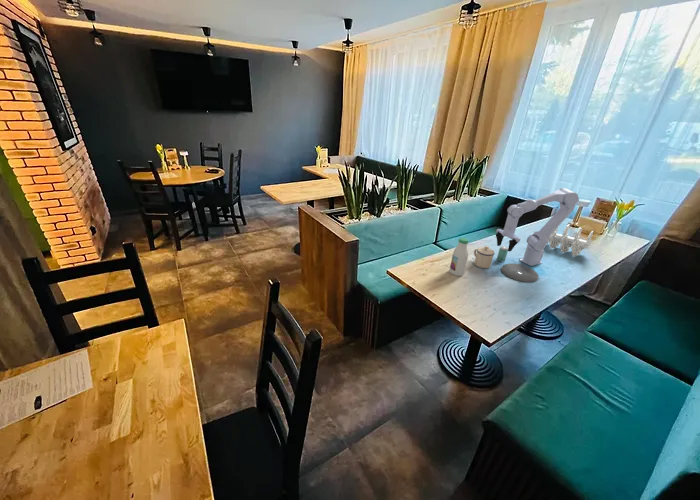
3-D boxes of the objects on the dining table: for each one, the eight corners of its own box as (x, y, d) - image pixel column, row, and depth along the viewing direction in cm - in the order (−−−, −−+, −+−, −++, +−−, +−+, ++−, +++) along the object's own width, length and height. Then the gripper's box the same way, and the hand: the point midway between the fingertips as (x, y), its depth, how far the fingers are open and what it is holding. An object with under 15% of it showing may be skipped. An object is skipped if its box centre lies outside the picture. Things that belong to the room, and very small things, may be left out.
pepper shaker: (500, 257, 175) (503, 245, 172) (506, 260, 172) (510, 248, 168) (495, 258, 174) (498, 246, 170) (501, 262, 170) (504, 250, 166)
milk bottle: (464, 270, 160) (471, 237, 151) (464, 277, 154) (472, 243, 145) (449, 268, 163) (456, 235, 154) (448, 274, 156) (455, 241, 147)
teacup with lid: (494, 267, 165) (499, 248, 159) (482, 270, 161) (487, 251, 156) (478, 257, 174) (482, 240, 169) (466, 260, 171) (470, 242, 166)
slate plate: (516, 262, 170) (517, 261, 169) (545, 278, 155) (546, 276, 155) (493, 268, 163) (494, 266, 163) (521, 285, 149) (522, 283, 148)
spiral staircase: (540, 248, 197) (585, 261, 179) (533, 243, 185) (580, 257, 167) (552, 222, 195) (598, 233, 177) (545, 216, 183) (594, 227, 165)
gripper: (494, 222, 167) (489, 244, 173) (516, 232, 156) (509, 254, 162) (503, 221, 170) (497, 242, 176) (525, 230, 158) (518, 252, 164)
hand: (504, 248), depth 169 cm, fingers open, 7 cm apart
